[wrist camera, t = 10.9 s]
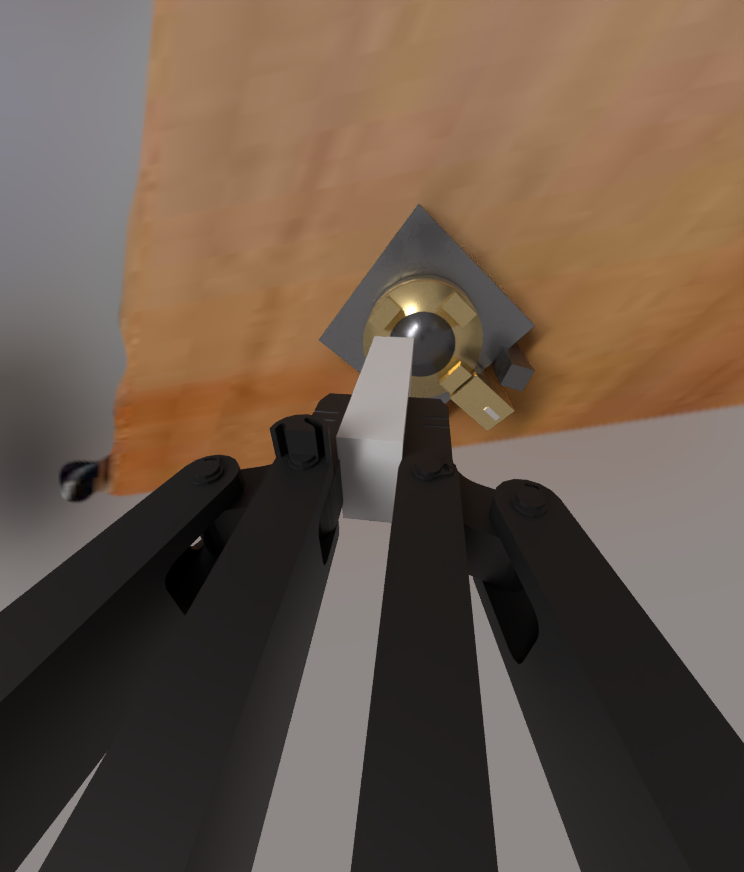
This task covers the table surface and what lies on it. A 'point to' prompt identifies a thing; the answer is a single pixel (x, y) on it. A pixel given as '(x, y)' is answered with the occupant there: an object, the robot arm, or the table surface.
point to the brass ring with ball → (440, 344)
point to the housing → (441, 256)
